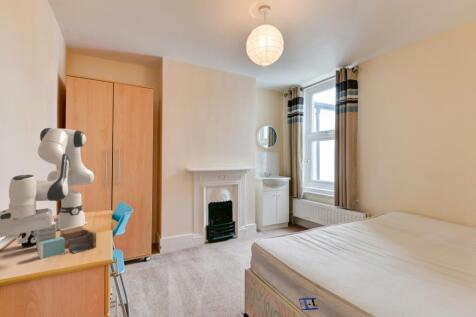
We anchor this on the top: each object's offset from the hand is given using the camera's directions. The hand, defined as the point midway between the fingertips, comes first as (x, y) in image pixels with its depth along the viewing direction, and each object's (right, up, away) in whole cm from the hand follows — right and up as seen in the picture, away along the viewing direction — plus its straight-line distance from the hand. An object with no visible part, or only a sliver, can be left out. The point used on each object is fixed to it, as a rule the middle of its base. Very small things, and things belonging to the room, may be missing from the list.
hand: (22, 242), depth 98 cm
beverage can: (-16, -9, +20) cm, 27 cm away
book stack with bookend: (+11, -9, +19) cm, 23 cm away
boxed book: (+5, -9, +9) cm, 14 cm away
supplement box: (-5, -9, +18) cm, 21 cm away
